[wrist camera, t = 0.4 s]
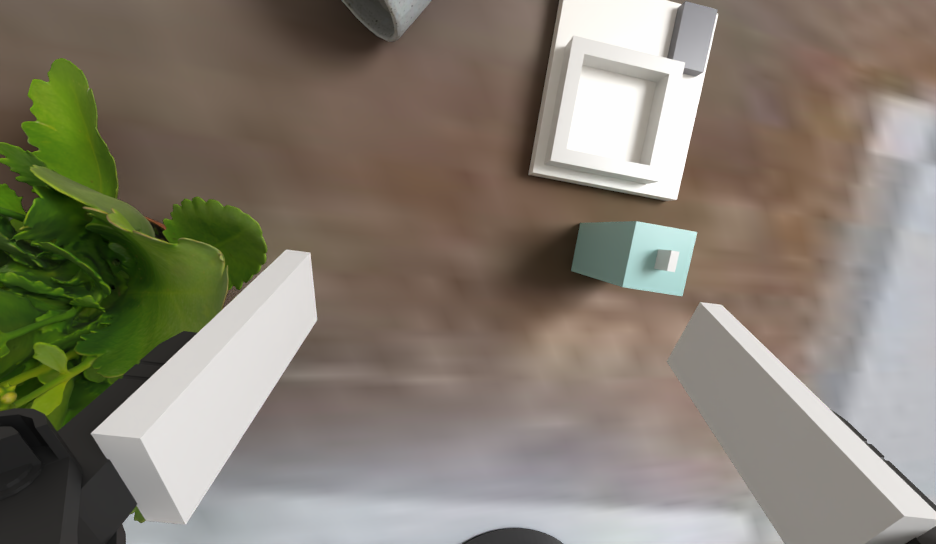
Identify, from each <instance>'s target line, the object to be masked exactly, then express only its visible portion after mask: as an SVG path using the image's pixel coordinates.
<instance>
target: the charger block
mask: <svg viewBox="0 0 936 544" xmlns="http://www.w3.org/2000/svg"><path fill="white" fill-rule="evenodd" d="M696 235H697V232H693V231H688V230H682V229H677V228H671V227H665V226H660V225H654V224H649V223H643V222H637V221H631V222H597V223H580V227H579V232H578V237H577V242H576V247H575V253H574V258H573V263H572V268H571V271H573V272H576V273H579V274H582V275H585V276H589V277H592V278H595V279H598V280H602V281H605V282H608V283H611V284H614V285H618V286H621V287H626V288H632V289H639V290H645V291H652V292H658V293H665V294H671V295H678V296H683V291H684V287H685V283H686V278H687V274H688V270H689V265H690V261H691V257H692V253H693V248H694V244H695V240H696Z"/></svg>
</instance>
